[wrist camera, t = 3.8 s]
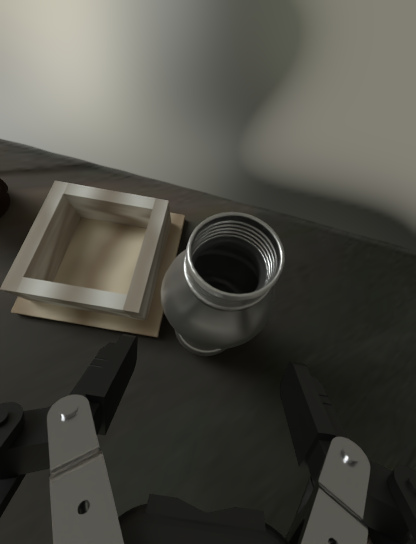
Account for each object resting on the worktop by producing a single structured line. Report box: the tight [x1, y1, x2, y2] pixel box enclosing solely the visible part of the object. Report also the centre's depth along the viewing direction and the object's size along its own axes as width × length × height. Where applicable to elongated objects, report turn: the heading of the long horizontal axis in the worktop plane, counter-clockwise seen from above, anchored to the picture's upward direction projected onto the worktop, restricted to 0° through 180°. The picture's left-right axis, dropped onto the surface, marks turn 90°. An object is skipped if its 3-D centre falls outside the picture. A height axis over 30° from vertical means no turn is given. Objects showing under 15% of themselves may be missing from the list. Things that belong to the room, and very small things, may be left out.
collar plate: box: [0, 181, 185, 338], centre depth 27 cm, size 16×16×6 cm
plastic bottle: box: [161, 212, 285, 356], centre depth 18 cm, size 6×7×20 cm
